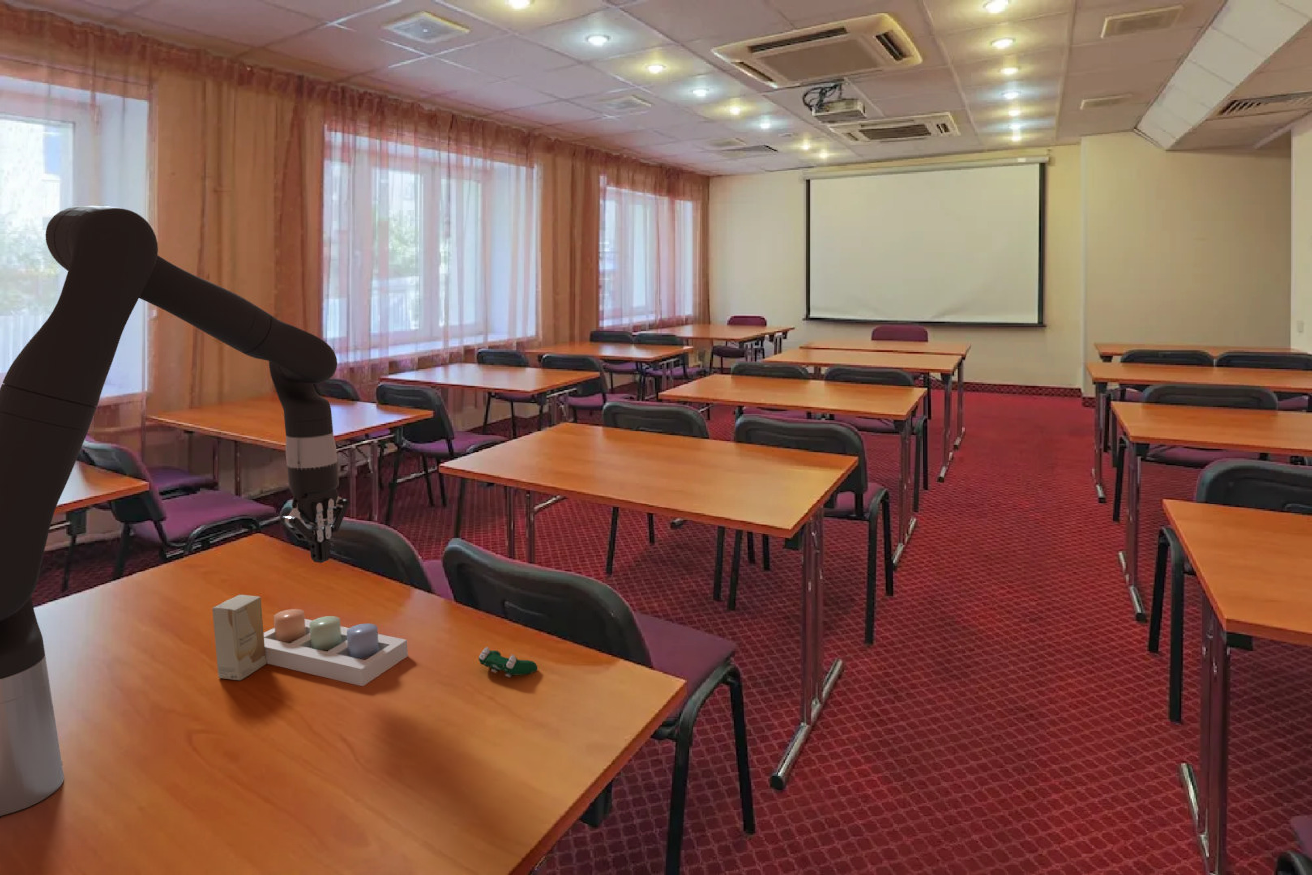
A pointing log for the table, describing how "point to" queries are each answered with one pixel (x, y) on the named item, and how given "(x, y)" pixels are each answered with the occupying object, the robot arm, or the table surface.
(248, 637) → the skincare box
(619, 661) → the table surface
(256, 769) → the table surface
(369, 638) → the blue button
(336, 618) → the green button
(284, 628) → the terracotta button
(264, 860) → the table surface
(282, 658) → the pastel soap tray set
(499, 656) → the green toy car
